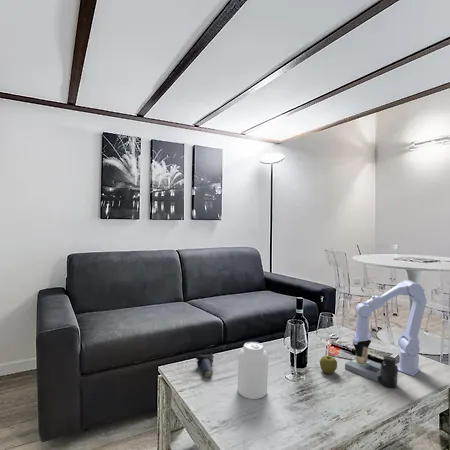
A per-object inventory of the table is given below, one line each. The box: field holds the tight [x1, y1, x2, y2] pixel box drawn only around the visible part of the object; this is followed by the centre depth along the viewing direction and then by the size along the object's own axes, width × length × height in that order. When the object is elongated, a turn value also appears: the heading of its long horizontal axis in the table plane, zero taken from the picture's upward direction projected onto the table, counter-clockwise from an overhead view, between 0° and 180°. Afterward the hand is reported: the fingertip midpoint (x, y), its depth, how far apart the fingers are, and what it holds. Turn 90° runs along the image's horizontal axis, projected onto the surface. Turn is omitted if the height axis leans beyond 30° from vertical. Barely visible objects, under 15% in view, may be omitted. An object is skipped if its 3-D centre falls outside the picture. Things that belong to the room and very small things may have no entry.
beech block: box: [355, 347, 369, 364], centre depth 160 cm, size 4×4×7 cm
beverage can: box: [195, 352, 215, 379], centre depth 152 cm, size 9×8×12 cm
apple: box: [319, 355, 338, 375], centre depth 154 cm, size 8×8×7 cm
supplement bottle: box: [379, 355, 399, 389], centre depth 144 cm, size 7×7×12 cm
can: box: [237, 341, 269, 400], centre depth 135 cm, size 12×12×20 cm
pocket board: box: [344, 357, 381, 383], centre depth 157 cm, size 14×16×3 cm
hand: (361, 355), depth 160 cm, fingers closed on beech block, 4 cm apart
